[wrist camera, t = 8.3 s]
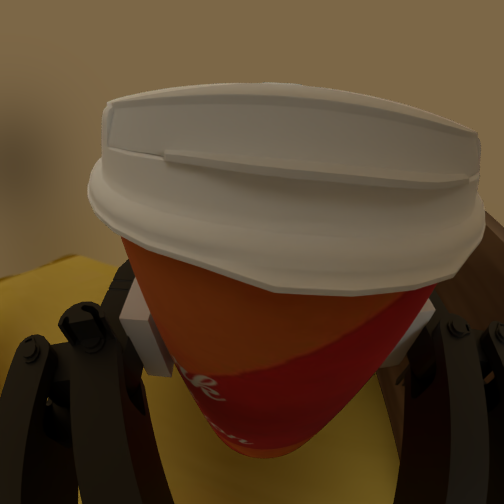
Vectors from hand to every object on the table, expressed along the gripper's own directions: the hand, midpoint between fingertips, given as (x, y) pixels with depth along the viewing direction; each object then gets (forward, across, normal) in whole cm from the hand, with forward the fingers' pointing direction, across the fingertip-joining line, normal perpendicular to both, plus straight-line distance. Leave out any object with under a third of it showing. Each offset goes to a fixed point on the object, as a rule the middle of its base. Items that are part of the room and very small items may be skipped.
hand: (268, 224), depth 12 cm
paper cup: (-5, 0, -8) cm, 10 cm away
